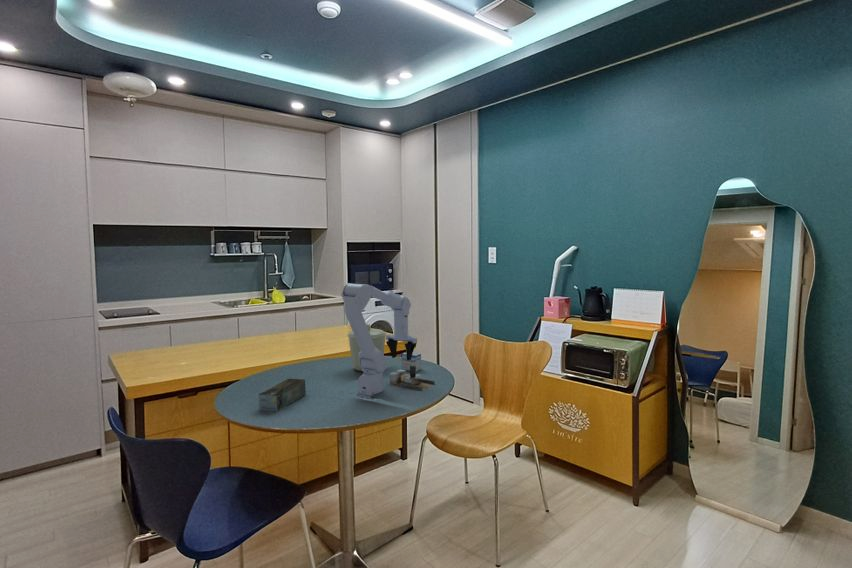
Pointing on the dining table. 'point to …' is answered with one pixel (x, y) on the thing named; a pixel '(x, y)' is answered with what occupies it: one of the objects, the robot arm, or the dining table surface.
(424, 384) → the base
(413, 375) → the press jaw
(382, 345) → the canister
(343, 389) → the dining table surface
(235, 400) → the dining table surface
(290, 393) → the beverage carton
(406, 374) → the potato
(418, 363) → the medicine box
